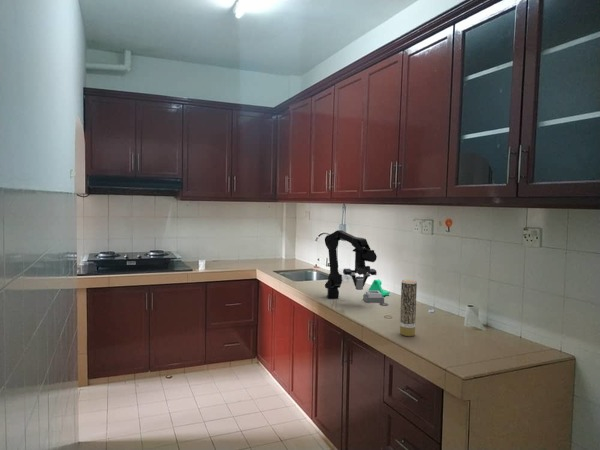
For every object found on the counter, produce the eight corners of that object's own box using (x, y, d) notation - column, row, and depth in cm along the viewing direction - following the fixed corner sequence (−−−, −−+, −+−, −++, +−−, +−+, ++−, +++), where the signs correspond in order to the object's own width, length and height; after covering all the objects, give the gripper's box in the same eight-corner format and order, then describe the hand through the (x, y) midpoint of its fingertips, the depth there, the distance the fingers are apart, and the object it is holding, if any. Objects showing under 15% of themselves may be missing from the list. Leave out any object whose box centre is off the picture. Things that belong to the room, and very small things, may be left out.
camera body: (366, 302, 244) (366, 293, 244) (363, 299, 252) (363, 290, 252) (384, 302, 245) (384, 293, 245) (380, 299, 253) (380, 290, 253)
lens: (356, 289, 234) (356, 277, 234) (354, 288, 239) (354, 276, 238) (364, 289, 234) (364, 277, 234) (362, 288, 239) (362, 276, 239)
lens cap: (379, 305, 238) (379, 304, 238) (379, 303, 243) (379, 302, 243) (388, 306, 237) (388, 305, 237) (388, 304, 242) (388, 303, 242)
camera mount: (390, 295, 263) (390, 280, 262) (382, 297, 259) (382, 281, 258) (376, 292, 273) (377, 277, 272) (368, 293, 269) (369, 278, 268)
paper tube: (417, 334, 188) (419, 281, 186) (410, 337, 183) (411, 283, 182) (404, 330, 193) (406, 279, 191) (397, 334, 188) (398, 280, 186)
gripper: (346, 262, 227) (346, 289, 228) (379, 262, 228) (378, 289, 229) (343, 259, 238) (342, 285, 239) (374, 259, 239) (373, 285, 240)
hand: (359, 286), depth 237 cm, fingers closed on lens, 4 cm apart
